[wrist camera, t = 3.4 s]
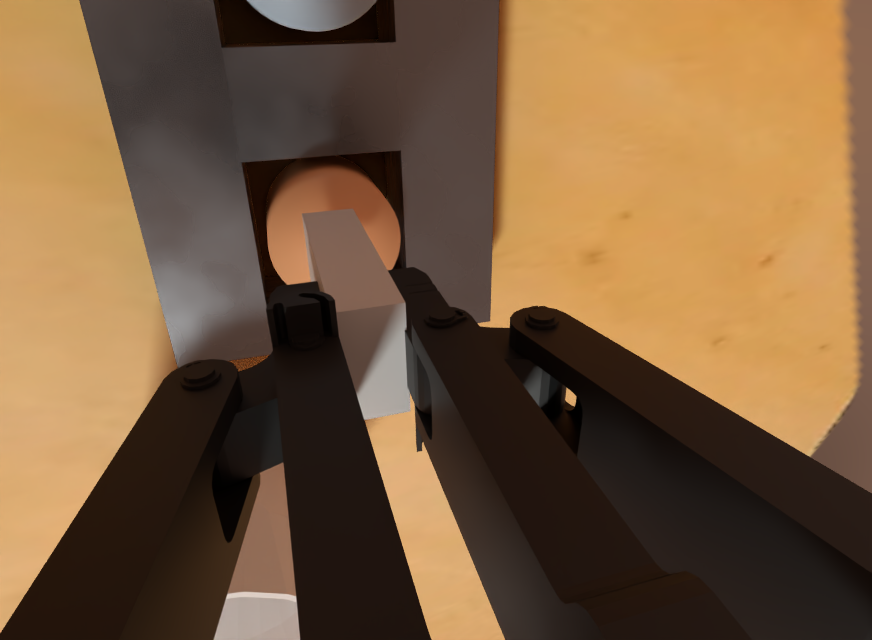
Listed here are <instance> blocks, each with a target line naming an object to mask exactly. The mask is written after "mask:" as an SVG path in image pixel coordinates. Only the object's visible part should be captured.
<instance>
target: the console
mask: <svg viewBox="0 0 872 640" xmlns="http://www.w3.org/2000/svg"><path fill="white" fill-rule="evenodd" d="M79 1H80V5H81V8H82V12H83V16H84V20H85V23H86V27H87V31H88V35H89V38H90V42H91V46H92V49H93V53H94V57H95V61H96V64H97V68H98V72H99V75H100V79H101V83H102V87H103V90H104V94H105V98H106V102H107V105H108V109H109V113H110V116H111V120H112V124H113V128H114V131H115V135H116V139H117V143H118V146H119V150H120V154H121V157H122V161H123V165H124V169H125V172H126V176H127V180H128V184H129V187H130V191H131V195H132V198H133V202H134V206H135V210H136V213H137V217H138V221H139V225H140V228H141V232H142V236H143V239H144V243H145V247H146V251H147V254H148V258H149V262H150V266H151V269H152V273H153V277H154V280H155V284H156V288H157V292H158V295H159V299H160V303H161V307H162V310H163V314H164V318H165V321H166V325H167V329H168V333H169V336H170V340H171V344H172V348H173V351H174V355H175V359H176V362H177V366H178V368H179V367H181V366H183V365H185V364H187V363H190V362H191V363H192V362H193V361H197V360H207V359H218V360H225V361H231V360H238V359H244V358H251V357H257V356H264V355H270V354H271V353H272V351H273V348H272V342H271V336H270V330H269V325H268V319H267V313H266V308H267V305H268V303H270V295H271V293H272V292H273V291H274V290H275V288H276V287H277V286H282V285H287V284H286V283H285V282H284V281H283V280H282V279H281V277H280V276H279V275H277V276H269V277H265V273H264V267H263V261H262V255H261V249H260V243H259V237H258V231H257V226H256V220H255V214H254V208H253V202H252V196H251V190H250V185H249V179H248V173H247V167H246V162H254V161H267V160H280V159H294V158H307V157H320V156H333V155H346V154H359V153H372V152H385V164H386V181H387V198H388V202H389V204H390V205H391V207H392V209H393V210H394V212H395V215H396V217H397V219H398V223H399V227H400V235H401V237H400V249H399V254H398V257H397V260H396V262H395V265H394V267H393V268H392V270H394V269H402V268H409V267H415V268H417V269H419V270H421V271H423V272H425V273H427V275H428V276H429V278H430V279H431V281H432V282H433V284H434V285H435V286H436V288H437V290H438V291H439V292H440V293H441V295H442V296H443V298H444V299H445V301H446V302H447V303H448V305H449V306H450V307H456V308H459V309H462V310H465V311H466V312H468V313H469V314H470V315H471V316H472V317H473V318H474V320H475V321H476V322H477V323H481V322H488V321H490V309H491V273H492V237H493V202H494V166H495V131H496V95H497V60H498V24H499V0H377V1H376V11H377V28H378V40H349V41H316V42H283V43H250V44H225V38H224V32H223V26H222V20H221V14H220V8H219V2H218V0H79Z"/></svg>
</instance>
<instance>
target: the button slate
mask: <svg viewBox="0 0 872 640" xmlns="http://www.w3.org/2000/svg"><path fill="white" fill-rule="evenodd" d="M246 1H247V2H248V3H249V4H250V5H251V6H252V7H253V8H254V9H255V10H257V11H258V12H259V13H260V14H261V15H263V16H265V17H266V18H268V19H269V20H271V21H273V22H275V23H277V24H279V25H282V26H285V27H288V28H293V29H299V30H304V31H316V32H320V31H329V30H333V29H337V28H341V27H343V26H345V25H348V24H350V23H352V22H353V21H355V20H357V19H358V18H360V17H361V16H362V15H363V14H365V13H366V12H367V11H368V10H369V9H370V8H371V7H372V6H373V5H374V4H375V2H376V1H377V0H246Z"/></svg>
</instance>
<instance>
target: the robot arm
mask: <svg viewBox="0 0 872 640" xmlns="http://www.w3.org/2000/svg"><path fill="white" fill-rule="evenodd" d="M302 219H303V226H304V234H305V242H306V249H307V257H308V265H309V272H310V280H311V282H305V283H298V284H290V285H282V286H277V287H276V288H275V290H274V291H273V292H272V293H271V295H270V303H268V305H267V308H266V313H267V319H268V325H269V330H270V336H271V342H272V348H273V351H272V353H271V354H270V356H268V357H267V358H266V359H265V360H264V361H262V362H261V363H259V364H257V365H255V366H253V367H250V368H248V369H246V370H243V371H240V372H238V369H237V368H236V367H235V365H234V364H233V363H230V362H228V361H225V360H218V359H207V360H197V361H193V362H192V363H191V362H190V363H187V364H185V365H183V366H181V367H179V368H178V369H176V370H174V371H172V372H171V373H170V374H169V375H168V376H167V377H166V378H165V379H164V380H163V382H162V383H161V385H160V386H159V388H158V389H157V391H156V392H155V394H154V396H153V397H152V399H151V400H150V402H149V403H148V405H147V406H146V408H145V410H144V411H143V413H142V414H141V416H140V417H139V419H138V420H137V422H136V423H135V425H134V427H133V428H132V430H131V431H130V433H129V434H128V436H127V437H126V439H125V441H124V442H123V444H122V445H121V447H120V448H119V450H118V451H117V453H116V455H115V456H114V458H113V459H112V461H111V462H110V464H109V465H108V467H107V469H106V470H105V472H104V473H103V475H102V476H101V478H100V479H99V481H98V482H97V484H96V486H95V487H94V489H93V490H92V492H91V493H90V495H89V496H88V498H87V500H86V501H85V503H84V504H83V506H82V507H81V509H80V510H79V512H78V514H77V515H76V517H75V518H74V520H73V521H72V523H71V524H70V526H69V528H68V529H67V531H66V532H65V534H64V535H63V537H62V538H61V540H60V542H59V543H58V545H57V546H56V548H55V549H54V551H53V552H52V554H51V555H50V557H49V559H48V560H47V562H46V563H45V565H44V566H43V568H42V569H41V571H40V573H39V574H38V576H37V577H36V579H35V580H34V582H33V583H32V585H31V587H30V588H29V590H28V591H27V593H26V594H25V596H24V597H23V599H22V601H21V602H20V604H19V605H18V607H17V608H16V610H15V611H14V613H13V614H12V616H11V618H10V619H9V621H8V622H7V624H6V625H5V627H4V628H3V630H2V632H1V633H0V640H214V637H215V634H216V630H217V627H218V624H219V620H220V617H221V614H222V610H223V607H224V604H225V600H226V597H227V594H228V590H229V587H230V584H231V580H232V577H233V573H234V570H235V567H236V563H237V560H238V557H239V553H240V550H241V547H242V543H243V540H244V537H245V533H246V530H247V527H248V523H249V520H250V517H251V513H252V510H253V507H254V503H255V500H256V497H257V493H258V490H259V487H260V473H261V472H263V471H265V470H267V469H270V468H272V467H274V466H276V465H279V464H281V463H283V464H284V474H285V485H286V495H287V506H288V516H289V527H290V537H291V548H292V559H293V569H294V580H295V590H296V601H297V611H298V622H299V632H300V640H431V637H430V635H429V632H428V629H427V626H426V622H425V619H424V616H423V612H422V609H421V606H420V602H419V599H418V596H417V593H416V589H415V586H414V583H413V579H412V576H411V573H410V569H409V566H408V563H407V559H406V556H405V553H404V550H403V546H402V543H401V540H400V536H399V533H398V530H397V526H396V523H395V520H394V517H393V513H392V510H391V507H390V503H389V500H388V497H387V493H386V490H385V487H384V484H383V480H382V477H381V474H380V470H379V467H378V464H377V460H376V457H375V454H374V450H373V447H372V444H371V441H370V437H369V434H368V431H367V427H366V424H365V421H364V420H367V419H372V418H378V417H383V416H388V415H393V414H398V413H404V412H409V411H410V394H411V396H412V398H413V401H414V403H415V420H416V445H417V452H418V451H422V443H423V442H424V445H425V447H426V450H427V452H428V454H429V457H430V459H431V462H432V464H433V466H434V469H435V471H436V474H437V476H438V479H439V481H440V483H441V486H442V488H443V491H444V493H445V495H446V498H447V500H448V503H449V505H450V507H451V510H452V512H453V515H454V517H455V519H456V522H457V524H458V527H459V529H460V532H461V534H462V536H463V539H464V541H465V544H466V546H467V548H468V551H469V553H470V556H471V558H472V560H473V563H474V565H475V568H476V570H477V572H478V575H479V577H480V580H481V582H482V585H483V587H484V589H485V592H486V594H487V597H488V599H489V601H490V604H491V606H492V609H493V611H494V613H495V616H496V618H497V621H498V623H499V626H500V628H501V630H502V633H503V635H504V638H505V640H872V493H870V492H868V491H867V490H864V489H863V488H861V487H859V486H858V485H856V484H855V483H853V482H851V481H850V480H848V479H846V478H844V477H843V476H841V475H839V474H838V473H836V472H834V471H833V470H831V469H829V468H827V467H826V466H824V465H822V464H821V463H819V462H817V461H815V460H814V459H812V458H811V457H809V456H807V455H805V454H804V453H802V452H800V451H799V450H797V449H795V448H794V447H792V446H790V445H788V444H787V443H785V442H783V441H782V440H780V439H778V438H777V437H775V436H773V435H771V434H770V433H768V432H766V431H765V430H763V429H761V428H760V427H758V426H756V425H754V424H753V423H751V422H749V421H748V420H746V419H744V418H743V417H741V416H739V415H738V414H736V413H734V412H732V411H731V410H729V409H727V408H726V407H724V406H722V405H721V404H719V403H717V402H715V401H714V400H712V399H710V398H709V397H707V396H705V395H704V394H702V393H700V392H698V391H697V390H695V389H693V388H692V387H690V386H688V385H687V384H685V383H683V382H682V381H680V380H678V379H676V378H675V377H673V376H671V375H670V374H668V373H666V372H665V371H663V370H661V369H659V368H658V367H656V366H654V365H653V364H651V363H649V362H648V361H646V360H644V359H642V358H641V357H639V356H637V355H636V354H634V353H632V352H631V351H629V350H627V349H625V348H624V347H622V346H620V345H619V344H617V343H615V342H614V341H612V340H610V339H609V338H607V337H605V336H603V335H602V334H600V333H598V332H597V331H595V330H593V329H592V328H590V327H588V326H586V325H585V324H583V323H581V322H580V321H578V320H576V319H575V318H573V317H571V316H569V315H568V314H566V313H564V312H562V311H559V310H557V309H552V308H548V307H545V306H539V307H538V306H532V307H529V308H523V309H520V310H518V311H516V312H514V313H513V315H512V316H511V317H510V328H490V327H480V326H479V325H478V324H477V322H476V321H475V320H474V318H473V317H472V316H471V315H470V314H469V313H468V312H466V311H465V310H462V309H459V308H456V307H450V306H449V305H448V303H447V302H446V301H445V299H444V298H443V296H442V295H441V293H440V292H439V291H438V290H437V288H436V286H435V285H434V284H433V282H432V281H431V279H430V278H429V276H428V275H427V273H425V272H423V271H421V270H419V269H417V268H415V267H409V268H402V269H394V270H387V269H386V267H385V265H384V263H383V261H382V260H381V258H380V256H379V254H378V252H377V251H376V249H375V247H374V245H373V244H372V242H371V240H370V238H369V236H368V235H367V233H366V231H365V229H364V227H363V226H362V224H361V222H360V220H359V218H358V217H357V215H356V213H355V211H354V210H353V208H352V209H342V210H332V211H322V212H313V213H303V214H302ZM566 387H567V388H568V389H569V390H571V391H572V392H573V393H574V394H575V395H576V396H577V398H576V405H575V407H574V406H572V405H570V404H569V403H567V402H566V401H565V396H566Z"/></svg>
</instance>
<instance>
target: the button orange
mask: <svg viewBox="0 0 872 640" xmlns="http://www.w3.org/2000/svg"><path fill="white" fill-rule="evenodd" d="M352 208H353V210H354V211H355V213H356V215H357V217H358V218H359V220H360V222H361V224H362V226H363V227H364V229H365V231H366V233H367V235H368V236H369V238H370V240H371V242H372V244H373V245H374V247H375V249H376V251H377V252H378V254H379V256H380V258H381V260H382V261H383V263H384V265H385V267H386V269H387V270H392V268H393V267H394V265H395V262H396V260H397V257H398V254H399V249H400V237H401V235H400V227H399V223H398V219H397V217H396V215H395V212H394V210H393V209H392V207H391V205H390V204H389V202H388V201H387V200H386V198H385V197H384V196H383V194H382V193H381V192H380V190H379V189H378V188H377V186H376V185H375V184H374V182H373V181H372V180H371V178H370V177H369V176H368V175H367V173H366V172H365V171H364V170H363V169H362V168H360V167H359V166H358V165H356V164H355V163H353V162H351V161H350V160H348V159H345V158H343V157H339V156H335V155H333V156H320V157H307V158H301V159H298V160H296V161H294V162H293V163H291V164H289V165H288V166H287V167H286V168H284V169H283V170H282V171H281V172H280V173H279V174H278V176H277V177H276V178H275V180H274V181H273V183H272V185H271V187H270V189H269V192H268V195H267V200H266V223H267V238H268V250H269V254H270V258H271V261H272V264H273V266H274V268H275V270H276V271H277V273H278V275H279V276H280V277H281V279H282V280H283V281H284V282H285V283H286V284H287V285H290V284H298V283H305V282H311V280H310V272H309V265H308V257H307V249H306V242H305V234H304V226H303V219H302V214H303V213H313V212H322V211H332V210H342V209H352Z"/></svg>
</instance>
